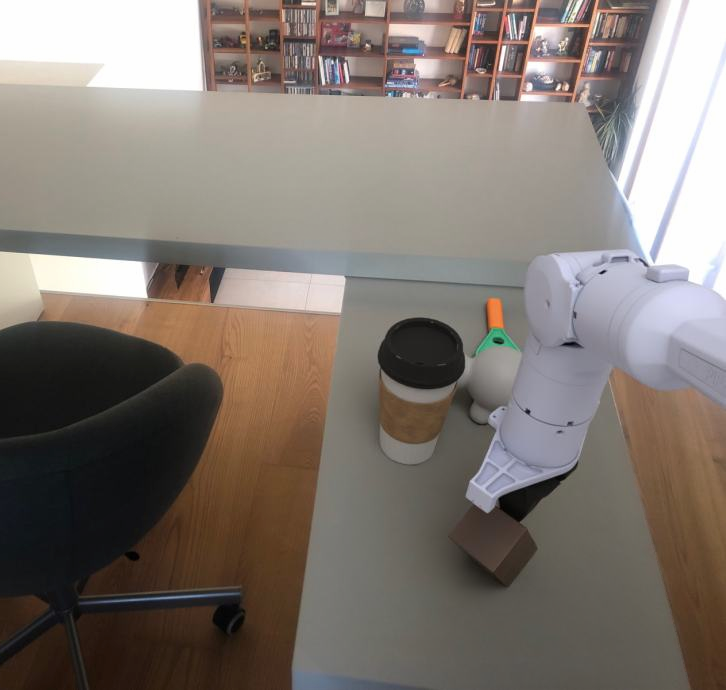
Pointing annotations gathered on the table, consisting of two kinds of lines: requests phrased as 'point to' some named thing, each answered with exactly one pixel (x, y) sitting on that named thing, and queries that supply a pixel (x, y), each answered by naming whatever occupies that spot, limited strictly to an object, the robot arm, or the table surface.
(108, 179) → the table surface
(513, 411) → the robot arm
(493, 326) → the vegetable peeler
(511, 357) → the toy rhinoceros
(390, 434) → the coffee cup
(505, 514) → the brown wooden block
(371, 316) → the table surface
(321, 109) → the table surface
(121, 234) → the table surface
